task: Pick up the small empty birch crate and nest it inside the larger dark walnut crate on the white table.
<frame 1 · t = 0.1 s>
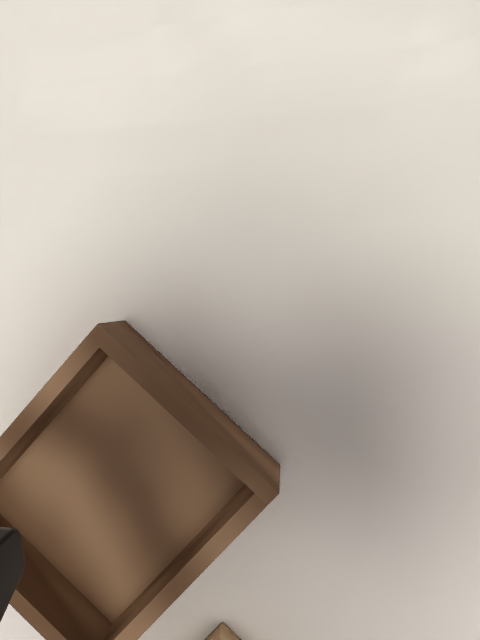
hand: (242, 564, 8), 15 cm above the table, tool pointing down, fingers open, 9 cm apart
big crate: (121, 479, 25), on the table
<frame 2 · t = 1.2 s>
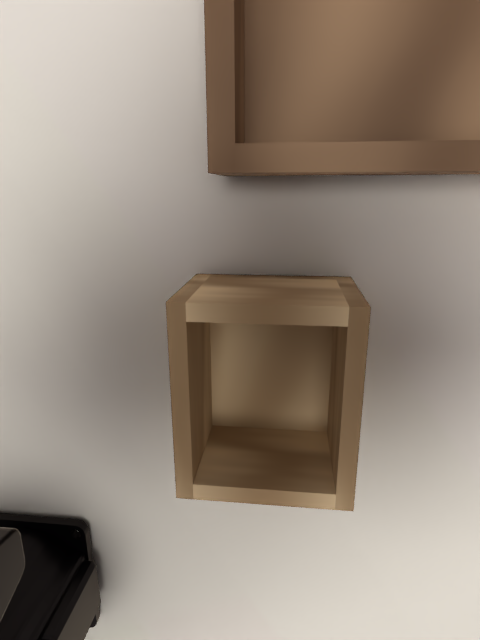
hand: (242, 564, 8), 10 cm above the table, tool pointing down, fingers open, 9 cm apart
small crate: (270, 358, 18), on the table
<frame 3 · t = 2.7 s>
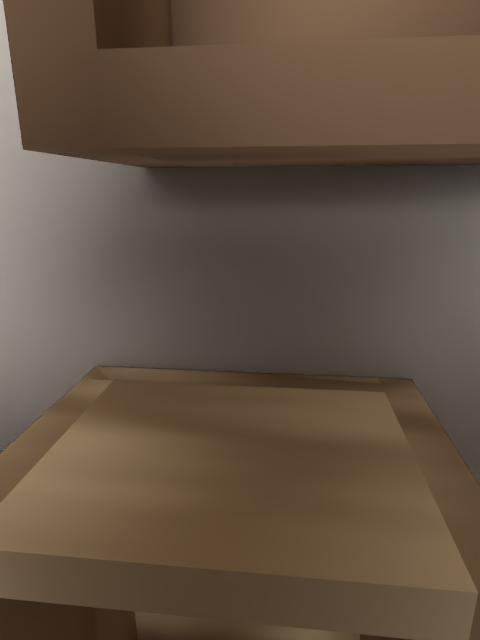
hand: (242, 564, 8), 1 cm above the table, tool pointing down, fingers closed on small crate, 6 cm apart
small crate: (247, 525, 9), on the table, touching gripper
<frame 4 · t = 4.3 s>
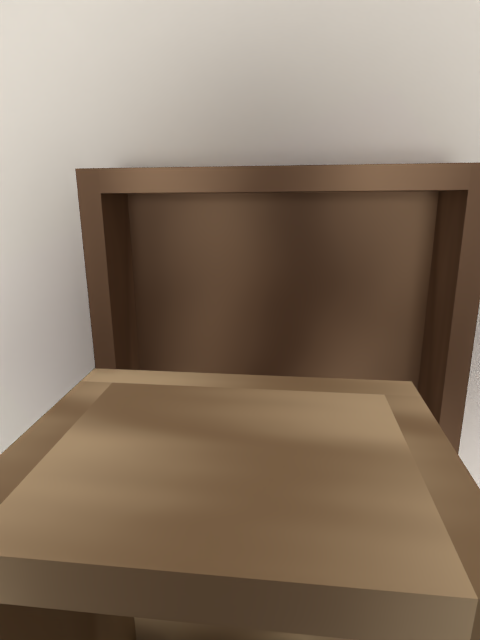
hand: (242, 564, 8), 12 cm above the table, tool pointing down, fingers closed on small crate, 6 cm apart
small crate: (246, 527, 9), point 11 cm above the table, touching gripper
big crate: (276, 312, 19), on the table
when the fingers open (4 cm above the table, at t = 6.2 s): small crate drops 2 cm, resting on big crate.
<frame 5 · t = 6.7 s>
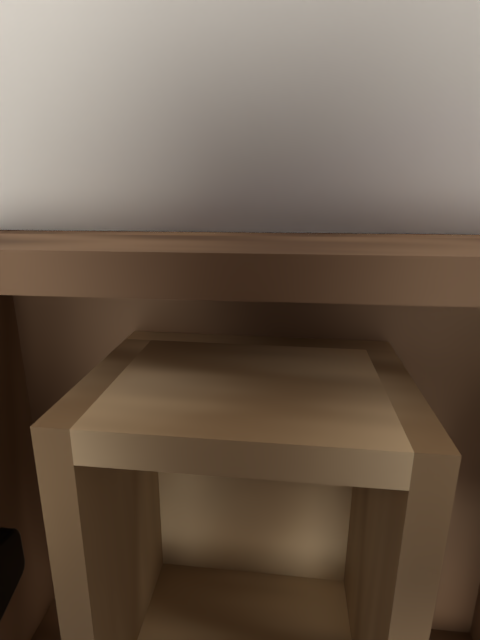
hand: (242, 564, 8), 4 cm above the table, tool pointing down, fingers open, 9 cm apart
small crate: (255, 464, 11), point 1 cm above the table, touching big crate
big crate: (257, 445, 12), on the table
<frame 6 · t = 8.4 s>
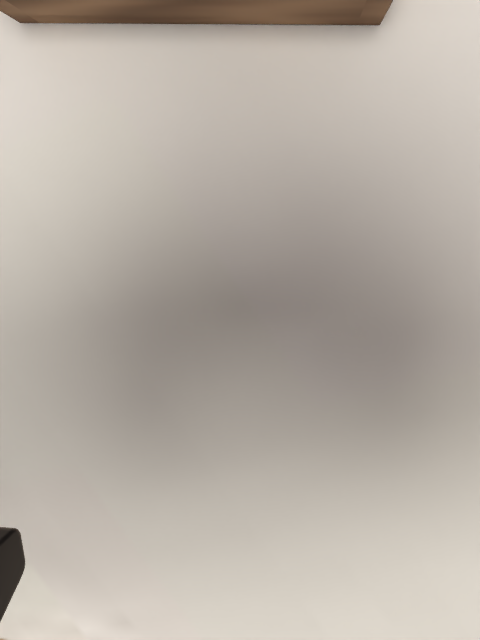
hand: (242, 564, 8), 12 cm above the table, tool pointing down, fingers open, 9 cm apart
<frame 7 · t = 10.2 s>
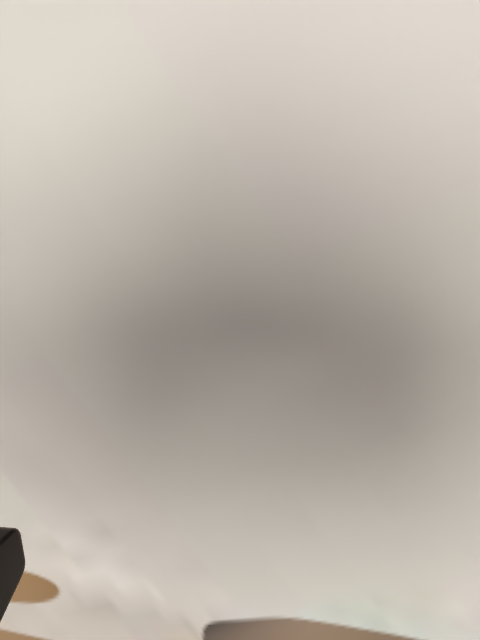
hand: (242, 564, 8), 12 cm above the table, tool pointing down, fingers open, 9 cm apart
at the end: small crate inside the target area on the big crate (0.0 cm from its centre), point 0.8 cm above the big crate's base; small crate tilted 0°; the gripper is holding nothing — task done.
